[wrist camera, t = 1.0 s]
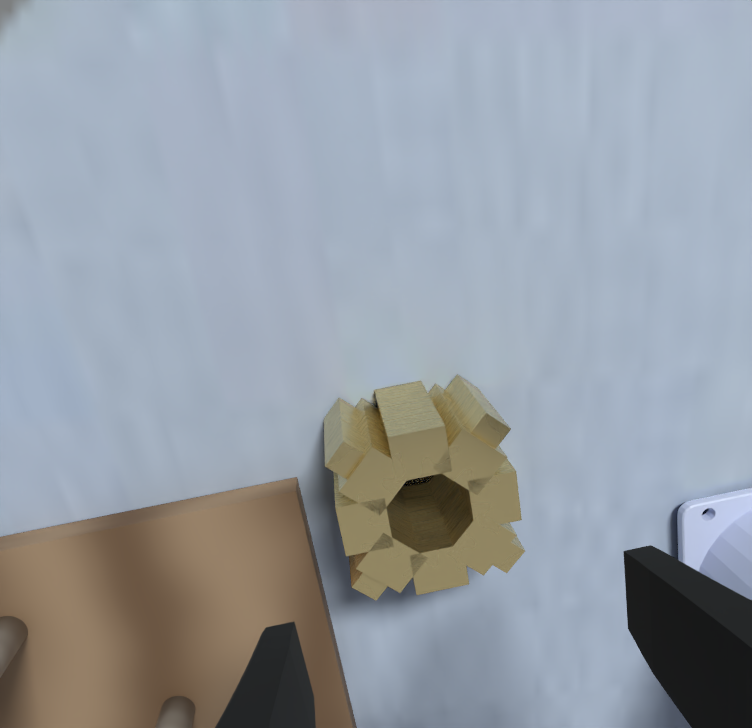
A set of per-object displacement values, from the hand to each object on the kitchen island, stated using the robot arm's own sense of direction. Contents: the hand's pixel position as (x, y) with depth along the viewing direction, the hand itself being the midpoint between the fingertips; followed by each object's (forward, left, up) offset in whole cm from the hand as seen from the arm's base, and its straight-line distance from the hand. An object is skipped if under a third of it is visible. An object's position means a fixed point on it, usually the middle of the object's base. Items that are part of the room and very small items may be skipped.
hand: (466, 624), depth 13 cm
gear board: (+11, +11, -8) cm, 18 cm away
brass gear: (0, 0, -8) cm, 9 cm away
